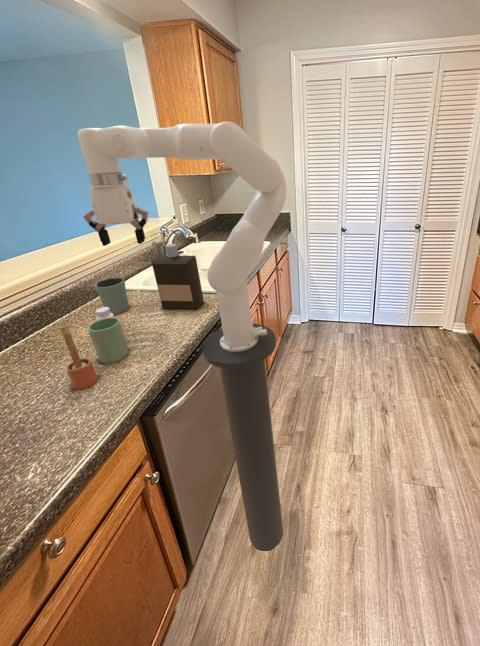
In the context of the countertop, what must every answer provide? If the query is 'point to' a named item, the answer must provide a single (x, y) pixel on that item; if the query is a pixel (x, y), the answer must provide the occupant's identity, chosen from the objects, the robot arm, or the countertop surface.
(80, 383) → the holder
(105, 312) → the supplement bottle
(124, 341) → the tumbler
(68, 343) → the brush
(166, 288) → the bottle
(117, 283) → the blue-gray pot
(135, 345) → the countertop surface
